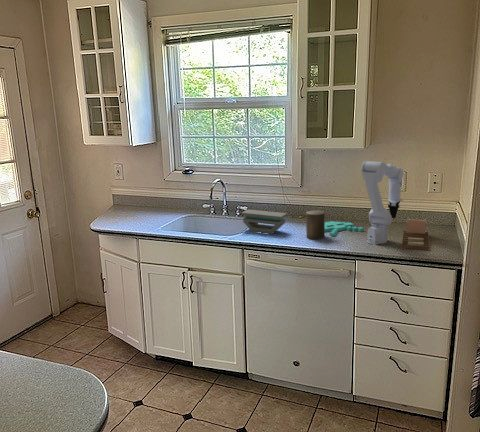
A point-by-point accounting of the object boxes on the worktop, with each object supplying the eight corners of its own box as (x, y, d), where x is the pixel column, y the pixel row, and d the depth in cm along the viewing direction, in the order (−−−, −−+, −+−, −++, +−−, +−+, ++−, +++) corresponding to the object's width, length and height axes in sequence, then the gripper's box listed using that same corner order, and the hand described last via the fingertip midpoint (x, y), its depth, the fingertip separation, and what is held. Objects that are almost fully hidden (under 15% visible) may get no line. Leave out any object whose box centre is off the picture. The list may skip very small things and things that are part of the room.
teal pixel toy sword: (363, 231, 246) (342, 223, 264) (363, 228, 245) (342, 219, 263) (332, 237, 239) (313, 228, 257) (332, 233, 239) (313, 224, 257)
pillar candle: (325, 239, 235) (325, 211, 231) (306, 239, 236) (306, 212, 232) (323, 234, 244) (323, 207, 241) (305, 234, 245) (305, 207, 241)
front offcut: (423, 249, 212) (423, 243, 211) (407, 248, 214) (407, 242, 214) (423, 248, 213) (423, 242, 213) (407, 246, 216) (407, 241, 215)
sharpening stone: (287, 231, 251) (287, 213, 248) (281, 235, 245) (281, 216, 242) (248, 227, 263) (247, 209, 261) (242, 230, 257) (241, 212, 254)
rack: (430, 252, 209) (430, 247, 208) (400, 250, 214) (400, 245, 213) (428, 236, 232) (429, 231, 231) (402, 234, 237) (402, 230, 236)
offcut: (423, 244, 218) (423, 239, 217) (407, 243, 220) (408, 238, 220) (423, 243, 219) (423, 238, 218) (407, 242, 222) (408, 237, 221)
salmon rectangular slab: (424, 236, 229) (425, 220, 227) (406, 235, 232) (407, 219, 230) (424, 235, 231) (425, 220, 228) (406, 234, 234) (407, 219, 231)
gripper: (402, 194, 223) (401, 220, 226) (403, 187, 236) (402, 212, 239) (387, 193, 225) (386, 219, 229) (389, 187, 238) (388, 212, 242)
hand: (393, 215), depth 234 cm, fingers open, 7 cm apart
